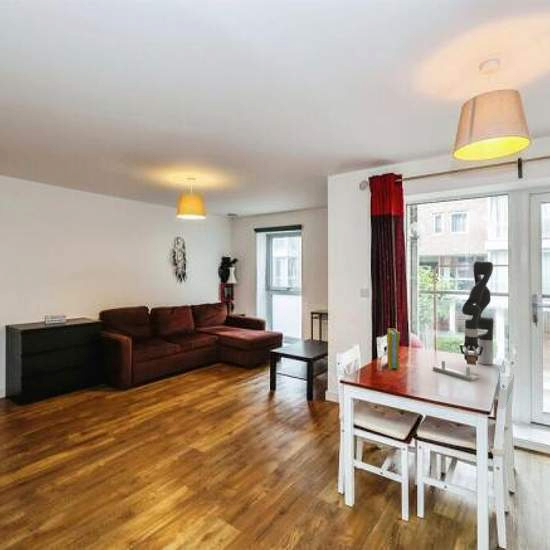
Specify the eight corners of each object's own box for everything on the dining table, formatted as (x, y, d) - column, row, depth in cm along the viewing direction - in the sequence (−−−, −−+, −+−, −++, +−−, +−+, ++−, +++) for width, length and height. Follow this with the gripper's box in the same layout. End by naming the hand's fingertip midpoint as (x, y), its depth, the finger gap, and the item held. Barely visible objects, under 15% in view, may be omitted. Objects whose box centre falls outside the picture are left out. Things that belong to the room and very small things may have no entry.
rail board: (440, 368, 237) (440, 358, 237) (478, 378, 214) (478, 368, 214) (432, 370, 233) (433, 360, 233) (470, 381, 210) (470, 370, 210)
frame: (466, 359, 234) (466, 350, 234) (474, 359, 232) (474, 350, 232) (467, 364, 224) (467, 354, 223) (476, 365, 221) (476, 355, 221)
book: (399, 369, 234) (399, 333, 233) (389, 369, 235) (389, 332, 235) (396, 362, 251) (396, 328, 250) (386, 362, 252) (386, 328, 251)
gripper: (458, 335, 227) (458, 361, 228) (484, 337, 220) (484, 363, 221) (458, 333, 234) (458, 358, 234) (483, 334, 227) (483, 360, 228)
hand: (471, 360), depth 228 cm, fingers closed on frame, 5 cm apart
